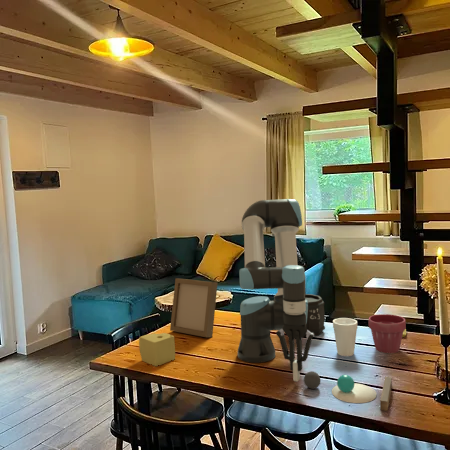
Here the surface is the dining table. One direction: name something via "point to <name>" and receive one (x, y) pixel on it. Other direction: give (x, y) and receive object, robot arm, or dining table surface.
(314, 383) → the gray ball
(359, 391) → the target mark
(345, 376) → the object ball
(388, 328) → the plant pot
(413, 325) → the dining table surface
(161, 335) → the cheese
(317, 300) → the black lettered pot
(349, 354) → the foam cup
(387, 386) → the rail
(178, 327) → the photo frame
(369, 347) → the dining table surface
